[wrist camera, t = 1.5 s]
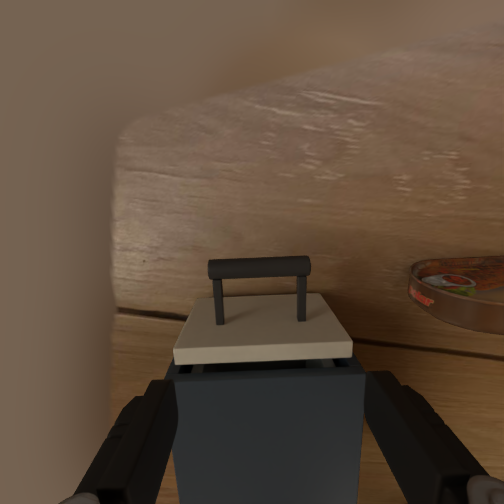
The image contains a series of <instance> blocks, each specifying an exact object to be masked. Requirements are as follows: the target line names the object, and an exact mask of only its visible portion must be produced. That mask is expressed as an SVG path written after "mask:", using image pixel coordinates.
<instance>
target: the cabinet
mask: <svg viewBox="0 0 504 504" xmlns="http://www.w3.org/2000/svg"><path fill="white" fill-rule="evenodd" d="M332 360H333V362H334V364H335V366H336V367H323V368H300V369H277V370H254V371H231V372H208V373H191V371H192V368H193V365H194V364H187V365H175V360H174V357H173V360H172V362H171V364H170V366H169V369H168V371H167V373H166V376H165V378H164V379H173V380H174V383H175V391H176V398H177V406H178V427H177V432H176V435H175V439H174V442H173V445H172V454H173V460H174V467H175V474H176V481H177V488H178V495H179V502H180V504H357V496H358V483H359V470H360V457H361V445H362V432H363V419H364V392H365V380H366V372H365V370H364V369H363V367H362V366H361V364H360V363H359V361H358V359H357V358H356V356H355V355H354V353H353V352H352V357H348V358H332Z"/></svg>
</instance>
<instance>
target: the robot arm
mask: <svg viewBox="0 0 504 504" xmlns="http://www.w3.org/2000/svg"><path fill="white" fill-rule="evenodd" d="M364 413H365V418H366V421H367V423H368V425H369V427H370V429H371V431H372V433H373V435H374V437H375V439H376V441H377V443H378V445H379V447H380V449H381V451H382V453H383V455H384V457H385V459H386V461H387V463H388V465H389V467H390V469H391V471H392V473H393V475H394V477H395V479H396V481H397V482H398V484H399V486H400V488H401V490H402V492H403V494H404V496H405V498H406V500H407V502H408V504H504V481H501V480H499V479H497V478H494V477H491V476H490V475H489V474H488V473H487V472H486V471H485V470H484V468H483V467H482V466H481V465H480V464H479V462H478V461H477V460H476V459H475V458H474V456H473V455H472V454H471V453H470V452H469V451H468V449H467V448H466V447H465V446H464V445H463V443H462V442H461V441H460V440H459V439H458V438H457V436H456V435H455V434H454V433H453V432H452V430H451V429H450V428H449V427H448V426H447V425H445V424H444V421H443V420H442V419H441V417H440V416H439V415H438V414H437V413H435V412H434V409H433V408H432V407H431V406H430V404H429V403H428V402H427V401H426V400H425V398H424V397H423V396H422V395H420V394H419V393H417V392H416V391H415V390H413V389H412V388H411V387H409V386H408V385H401V384H400V383H399V382H398V380H397V379H396V378H395V376H394V375H393V374H392V373H391V372H390V371H368V372H367V373H366V380H365V392H364ZM177 427H178V406H177V398H176V391H175V383H174V380H173V379H163V380H152V381H151V382H150V384H149V386H148V388H147V390H146V392H145V394H144V396H135V397H134V398H133V399H132V400H131V401H130V402H129V403H128V404H127V405H126V406H125V407H124V408H123V409H122V411H121V413H120V415H119V416H118V418H117V420H116V421H115V425H114V426H113V427H112V428H111V430H110V432H109V434H108V437H107V438H106V439H105V441H104V443H103V444H102V446H101V448H100V449H99V451H98V453H97V455H96V456H95V458H94V460H93V462H92V463H91V465H90V467H89V469H88V470H87V472H86V474H85V476H84V477H83V479H82V481H81V482H80V484H79V486H78V488H77V489H76V491H75V493H74V494H73V496H71V497H69V498H67V499H65V500H63V501H62V502H60V503H59V504H155V502H156V499H157V496H158V492H159V489H160V486H161V482H162V479H163V476H164V472H165V469H166V465H167V462H168V459H169V455H170V452H171V449H172V445H173V442H174V439H175V435H176V432H177Z"/></svg>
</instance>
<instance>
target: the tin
mask: <svg viewBox="0 0 504 504" xmlns="http://www.w3.org/2000/svg"><path fill="white" fill-rule="evenodd" d="M408 295H409V297H410V299H412V301H413V302H414V303H416V304H417V305H418V306H419V307H421V308H422V309H424V310H425V311H427V312H428V313H430V314H431V315H433V316H434V317H436V318H437V319H439V320H442V321H444V322H447V323H449V324H452V325H455V326H458V327H461V328H465V329H469V330H473V331H477V332H483V333H490V334H499V335H504V256H491V257H473V258H452V259H433V260H424V261H420V262H417V263H415V264H413V265H412V266H411V267H410V279H409V285H408Z"/></svg>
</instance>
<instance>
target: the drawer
mask: <svg viewBox="0 0 504 504" xmlns="http://www.w3.org/2000/svg"><path fill="white" fill-rule="evenodd" d="M310 272H311V263H310V258H309V256H285V257H261V258H237V259H214V260H209V262H208V276H209V279H211V280H213V293H214V298H197V300H196V302H195V304H194V306H193V308H192V310H191V313H190V315H189V317H188V319H187V321H186V323H185V325H184V327H183V329H182V332H181V334H180V336H179V338H178V340H177V342H176V344H175V346H174V348H173V352H174V360H175V365H187V364H194V365H193V368H192V371H191V373H208V372H231V371H254V370H277V369H300V368H323V367H336V366H335V364H334V362H333V360H332V358H348V357H352V348H353V341H352V339H351V338H350V336H349V335H348V334H347V332H346V331H345V329H344V328H343V326H342V325H341V323H340V322H339V320H338V319H337V318H336V316H335V315H334V313H333V312H332V310H331V309H330V307H329V306H328V305H327V303H326V302H325V300H324V299H323V297H322V296H321V294H320V293H310V294H306V284H307V277H306V276H308V275H310ZM284 276H297V294H286V295H263V296H239V297H223V289H222V279H237V278H261V277H284Z"/></svg>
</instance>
